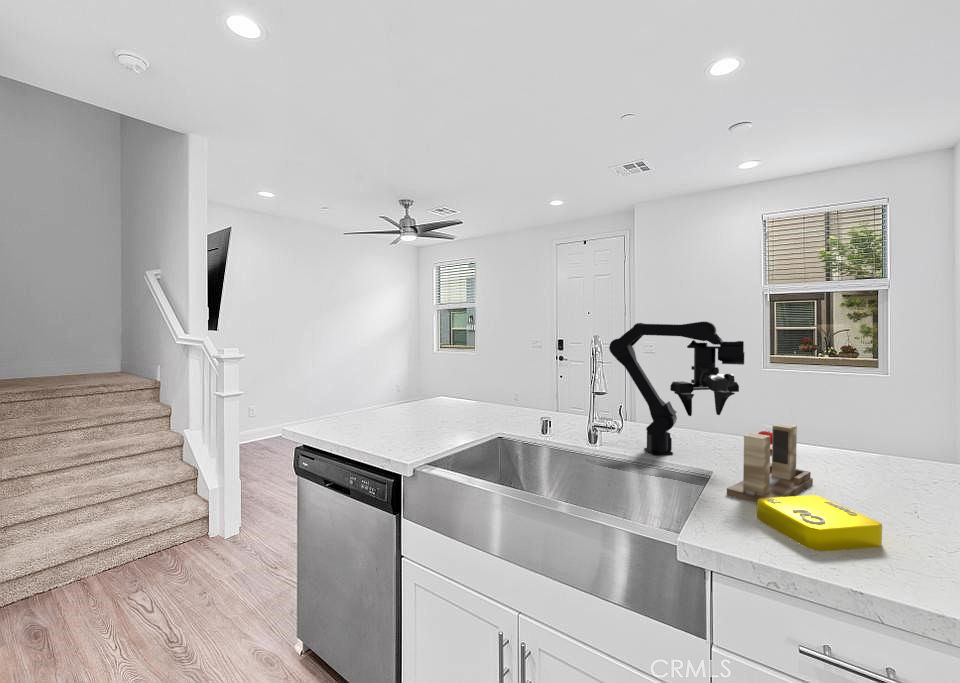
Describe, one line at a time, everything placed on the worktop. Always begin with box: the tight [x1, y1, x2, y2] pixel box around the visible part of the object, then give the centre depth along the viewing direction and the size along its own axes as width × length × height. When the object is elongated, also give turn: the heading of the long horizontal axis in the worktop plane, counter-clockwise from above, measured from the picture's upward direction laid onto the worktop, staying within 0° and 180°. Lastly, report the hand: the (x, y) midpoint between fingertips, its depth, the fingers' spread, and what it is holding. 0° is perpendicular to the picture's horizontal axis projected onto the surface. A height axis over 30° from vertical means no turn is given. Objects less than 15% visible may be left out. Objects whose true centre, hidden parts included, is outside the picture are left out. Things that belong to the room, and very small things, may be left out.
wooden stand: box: [726, 432, 814, 504], centre depth 109 cm, size 24×10×14 cm, turn 127°
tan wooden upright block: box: [771, 422, 798, 480], centre depth 113 cm, size 5×4×13 cm
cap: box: [757, 430, 772, 446], centre depth 142 cm, size 8×6×6 cm
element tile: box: [756, 494, 883, 552], centre depth 87 cm, size 15×15×5 cm
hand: (704, 415), depth 134 cm, fingers open, 9 cm apart
